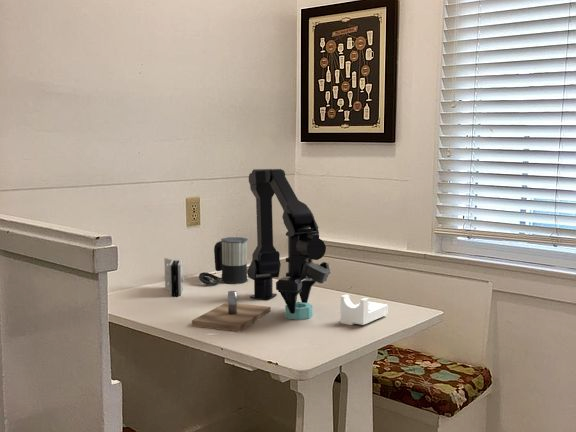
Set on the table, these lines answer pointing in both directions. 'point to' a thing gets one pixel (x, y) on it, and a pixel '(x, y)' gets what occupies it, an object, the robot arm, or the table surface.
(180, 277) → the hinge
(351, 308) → the bracket
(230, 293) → the steel post
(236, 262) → the milk frother
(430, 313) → the table surface
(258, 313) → the walnut base board
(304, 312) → the teal ring
